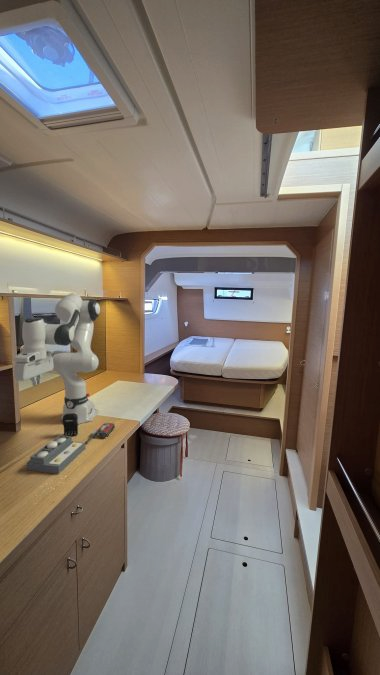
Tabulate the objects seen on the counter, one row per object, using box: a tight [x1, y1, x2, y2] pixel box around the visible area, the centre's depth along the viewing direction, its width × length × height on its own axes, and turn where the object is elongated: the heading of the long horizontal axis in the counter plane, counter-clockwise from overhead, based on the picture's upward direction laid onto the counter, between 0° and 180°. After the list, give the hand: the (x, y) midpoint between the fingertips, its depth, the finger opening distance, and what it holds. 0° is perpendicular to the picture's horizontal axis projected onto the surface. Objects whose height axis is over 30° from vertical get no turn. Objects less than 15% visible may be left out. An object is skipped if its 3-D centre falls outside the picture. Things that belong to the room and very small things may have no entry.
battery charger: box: [62, 413, 79, 437], centre depth 136 cm, size 7×4×11 cm, turn 99°
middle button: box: [46, 440, 58, 450], centre depth 116 cm, size 4×4×2 cm
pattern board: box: [26, 434, 86, 475], centre depth 116 cm, size 19×14×6 cm
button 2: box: [56, 438, 66, 443], centre depth 122 cm, size 4×4×2 cm
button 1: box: [37, 451, 48, 457], centre depth 110 cm, size 4×4×2 cm
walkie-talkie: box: [84, 422, 116, 445], centre depth 137 cm, size 9×4×20 cm
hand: (36, 384), depth 121 cm, fingers closed
